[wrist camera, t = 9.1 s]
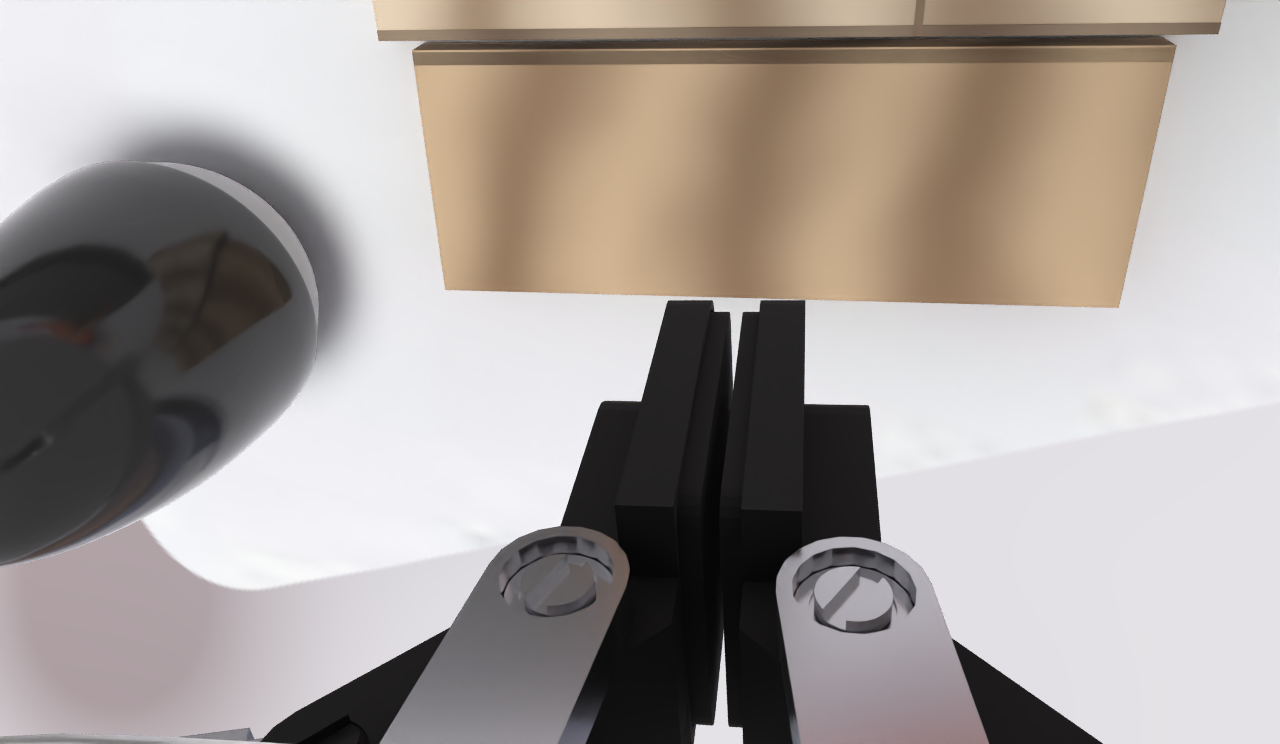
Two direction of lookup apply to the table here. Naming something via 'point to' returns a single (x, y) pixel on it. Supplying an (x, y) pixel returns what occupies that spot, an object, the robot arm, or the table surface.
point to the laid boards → (786, 18)
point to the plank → (794, 166)
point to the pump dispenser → (139, 345)
